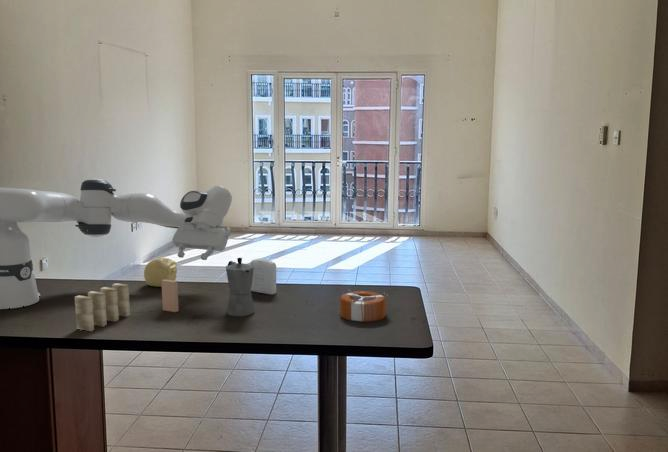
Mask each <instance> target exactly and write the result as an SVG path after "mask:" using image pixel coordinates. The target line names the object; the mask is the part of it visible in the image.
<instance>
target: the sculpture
mask: <svg viewBox="0 0 668 452" xmlns="http://www.w3.org/2000/svg"><path fill="white" fill-rule="evenodd" d="M177 266H178V265H177V261H175V260H172V259H170V258H167V257H162V256H160V257H158V258H154V259H152V260H150V261H149V262H148V263H147V264H146V265H145V267H144V270H143V277H144V281H145V283H146V284H147V285H148V286H151V287H155V288H156V287H158V288H162V281H161V280H164V279H166V280H174V281H177V280H176V278H177V273H178V268H177Z"/></svg>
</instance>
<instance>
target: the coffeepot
mask: <svg viewBox="0 0 668 452" xmlns="http://www.w3.org/2000/svg"><path fill="white" fill-rule="evenodd" d="M236 260H237V262H235V261H233V260H230V261H228V264H227V265H225V269H226V278H227V282H228V288H229V294H228V301H227V309H226V311H227V315H229V316H231V317H246V316H250V315H252V314H254V313H255V308H254V301H253V297H252V291H251V287H252V279H253V271H254V266H253V265H250V264H248V263H243V258H242V257H237V258H236Z"/></svg>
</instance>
